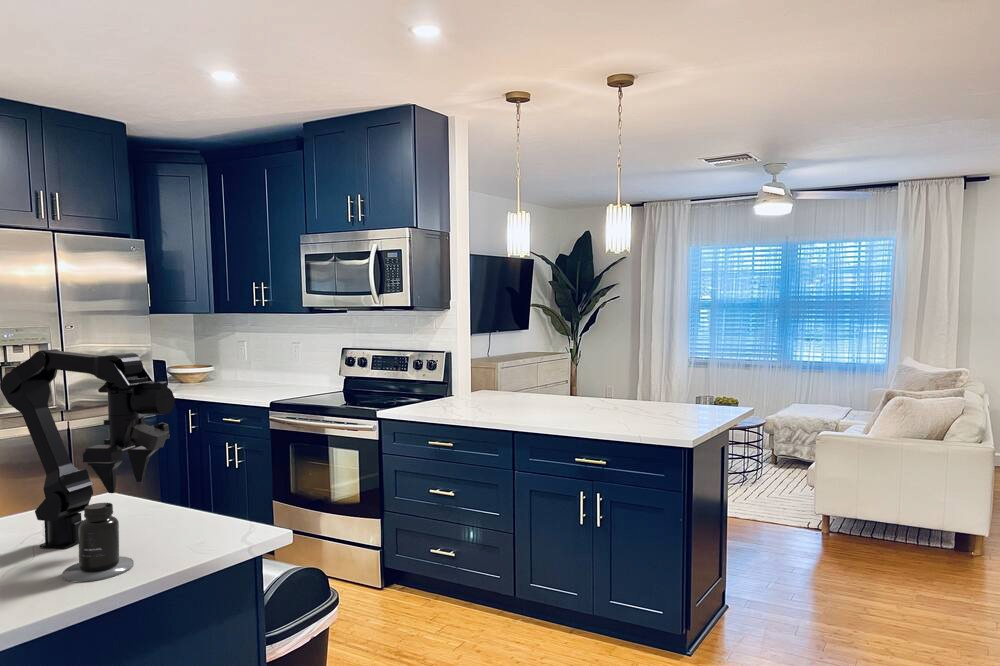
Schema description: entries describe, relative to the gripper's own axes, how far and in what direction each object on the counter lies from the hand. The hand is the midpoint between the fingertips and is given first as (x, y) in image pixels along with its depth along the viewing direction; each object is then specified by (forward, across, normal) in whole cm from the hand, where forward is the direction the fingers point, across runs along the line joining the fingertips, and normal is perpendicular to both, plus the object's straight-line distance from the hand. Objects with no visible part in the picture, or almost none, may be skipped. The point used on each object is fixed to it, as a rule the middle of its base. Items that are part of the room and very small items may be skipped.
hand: (126, 487), depth 146 cm
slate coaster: (+13, -12, -2) cm, 18 cm away
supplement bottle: (+13, -12, -2) cm, 17 cm away
